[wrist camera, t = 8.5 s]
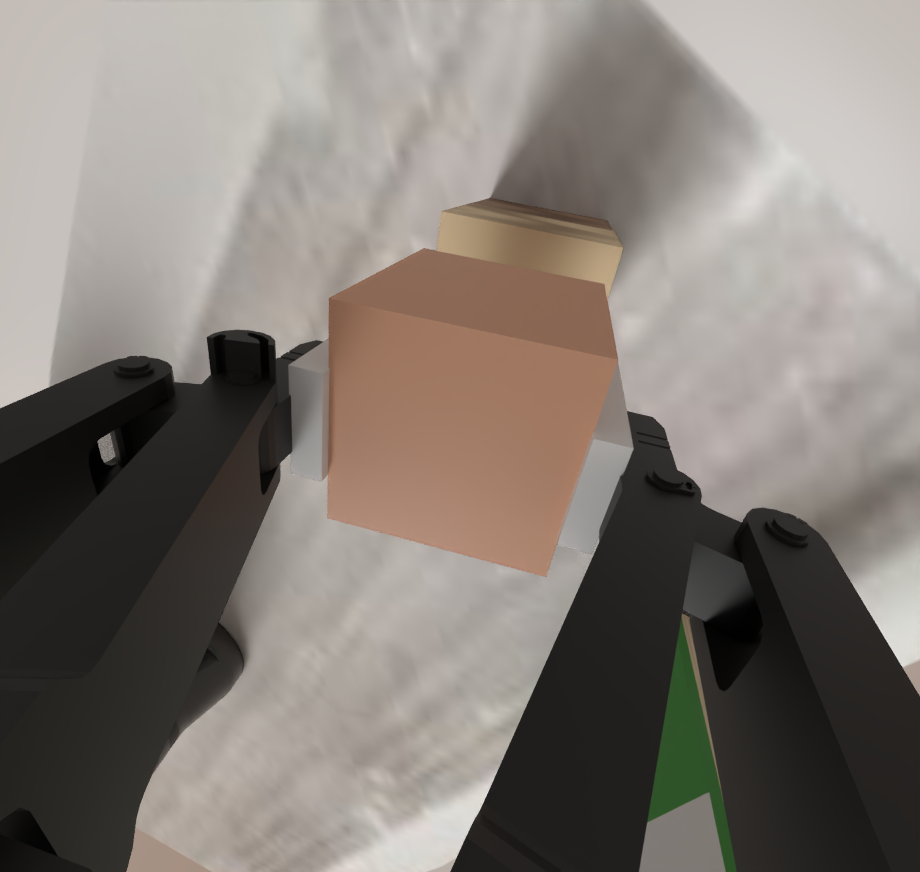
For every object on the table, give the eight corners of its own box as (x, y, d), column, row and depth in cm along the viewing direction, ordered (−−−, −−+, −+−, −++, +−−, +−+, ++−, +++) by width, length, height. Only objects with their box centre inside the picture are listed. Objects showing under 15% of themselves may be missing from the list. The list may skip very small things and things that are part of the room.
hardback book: (667, 591, 40) (760, 1041, 19) (742, 634, 40) (912, 1120, 20) (548, 691, 49) (524, 1071, 28) (610, 725, 49) (632, 1125, 29)
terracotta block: (407, 407, 18) (327, 518, 12) (423, 248, 15) (328, 298, 9) (558, 442, 17) (545, 576, 11) (604, 283, 14) (618, 360, 9)
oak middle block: (450, 338, 27) (420, 377, 22) (471, 203, 24) (441, 211, 19) (573, 367, 27) (571, 413, 21) (613, 231, 23) (623, 247, 18)
